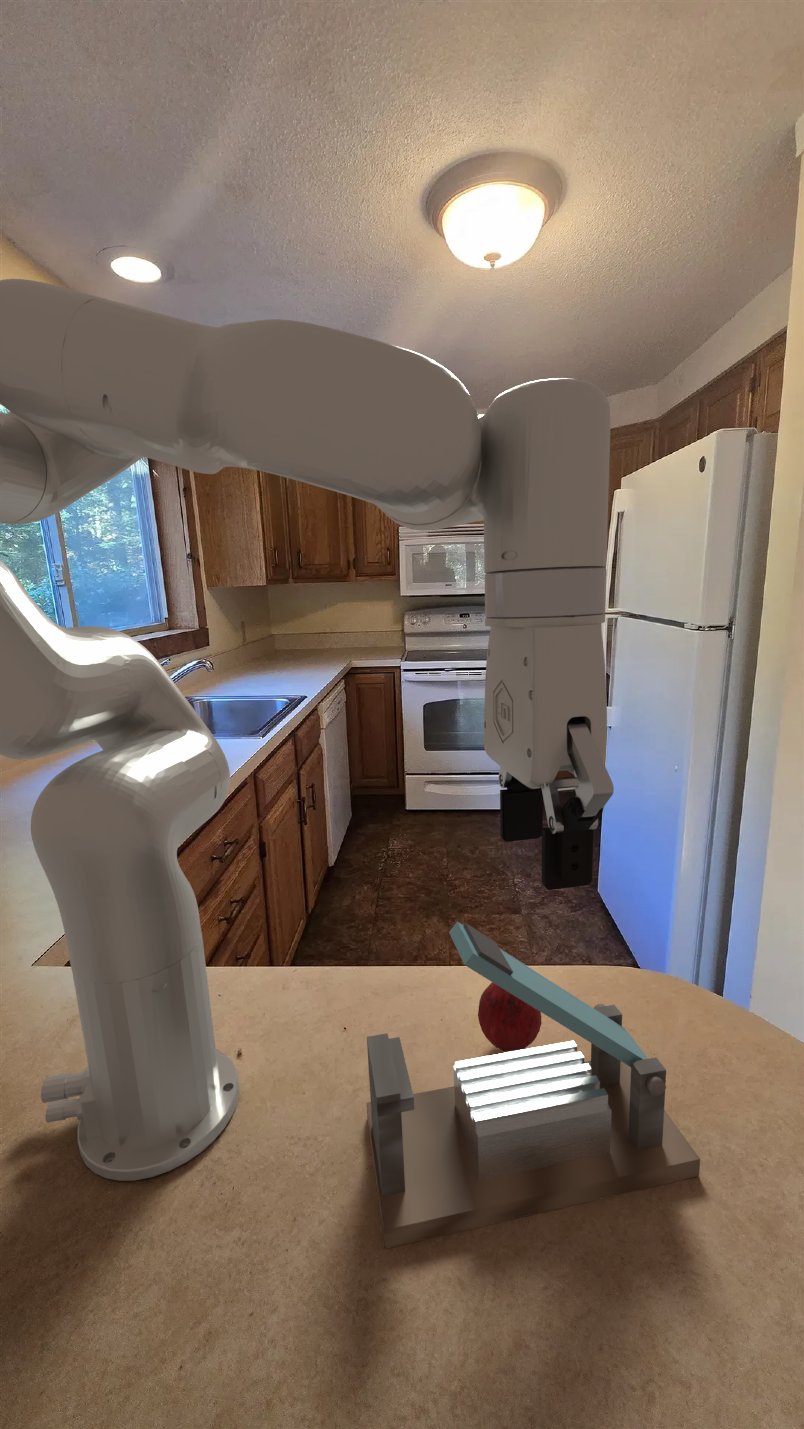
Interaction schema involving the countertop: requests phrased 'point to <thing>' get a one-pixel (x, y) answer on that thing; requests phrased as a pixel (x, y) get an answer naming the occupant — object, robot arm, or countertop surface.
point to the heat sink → (531, 1109)
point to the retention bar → (543, 994)
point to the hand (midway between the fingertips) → (542, 858)
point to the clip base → (449, 1197)
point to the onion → (507, 1019)
